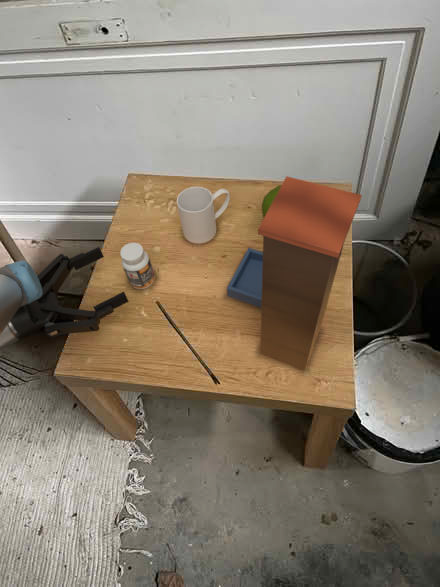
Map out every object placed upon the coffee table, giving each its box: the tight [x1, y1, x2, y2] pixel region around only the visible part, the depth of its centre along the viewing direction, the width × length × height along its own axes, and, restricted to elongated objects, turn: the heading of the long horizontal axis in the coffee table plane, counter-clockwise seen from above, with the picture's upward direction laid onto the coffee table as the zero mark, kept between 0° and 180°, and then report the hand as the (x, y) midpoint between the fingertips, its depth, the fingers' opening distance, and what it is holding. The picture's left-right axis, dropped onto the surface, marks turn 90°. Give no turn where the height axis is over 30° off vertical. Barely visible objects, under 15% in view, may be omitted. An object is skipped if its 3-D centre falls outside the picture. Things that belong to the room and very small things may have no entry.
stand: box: [257, 176, 363, 371], centre depth 66 cm, size 10×10×36 cm
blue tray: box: [226, 247, 263, 308], centre depth 88 cm, size 12×12×3 cm
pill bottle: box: [119, 242, 156, 290], centre depth 88 cm, size 6×6×10 cm
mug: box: [176, 186, 231, 245], centre depth 95 cm, size 12×8×10 cm, turn 117°
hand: (113, 273), depth 86 cm, fingers open, 13 cm apart
